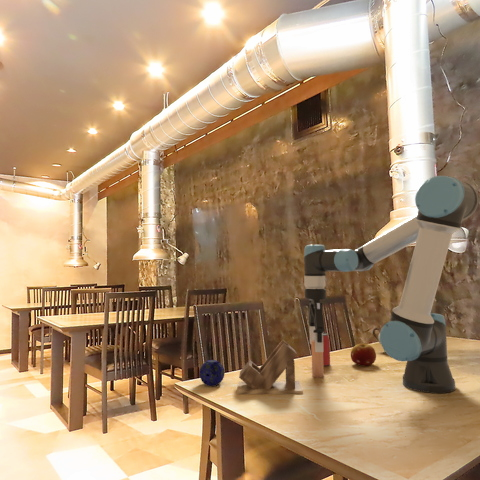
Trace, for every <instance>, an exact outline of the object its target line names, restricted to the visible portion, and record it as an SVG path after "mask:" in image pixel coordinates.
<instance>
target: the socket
mask: <svg viewBox="0 0 480 480" xmlns="http://www.w3.org/2000/svg"><path fill="white" fill-rule="evenodd" d="M297 355H298V353H297V350H295V349H294V348H293V347H292V346H291V345H290V344H288V343H287V342H286V341H285V340H284V339H281V341H280V342H279V343H278V344H277V346H276V347H274V349H273V351H272V352H271V353H270V354H269V356H268V357H267V358H266V360H265V361H264V362H263V364H262V365H261V366H260V367H259V366H258V365H257V364H255V363H254V362H253V361H252V360H251V359H249V360H248V361H247V362H246V363H245V365H244V366H243V367H242V369H241V370H240V371H239V376H238V377H239V379H240V380H241V381H238V382H237V383H238V384H237V390H236V394H237V395H275V394H276V395H281V394H282V395H285V394H286V395H293V394H295V395H297V394H298V395H299V394H300V395H303V394H304V390H303V387H302V385H301V383H300V381H299V380H296V371H295V366H296V365H295V357H297ZM283 372H285V381H284V380H282V381H281V380H278V378H279V377H280V376H281V375H282V374H283ZM277 380H278V381H277Z"/></svg>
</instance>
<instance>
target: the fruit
mask: <svg viewBox="0 0 480 480" xmlns="http://www.w3.org/2000/svg"><path fill="white" fill-rule="evenodd" d="M350 358H351V361H352V362H353V363H354V364H356V365H358V366H361V367H369V366H372V365H374V363H375V362H376V360H377V359H376V358H377V353H376V350H375V348H374V347H373V346H372V345H370V344H368V343H358V344H355V345H354V346H353V347H352V348H351V351H350Z"/></svg>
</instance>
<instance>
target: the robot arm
mask: <svg viewBox="0 0 480 480" xmlns="http://www.w3.org/2000/svg"><path fill="white" fill-rule="evenodd" d="M479 200H480V199H479V195H478V192H477V190H476V189H475V188H474V187H473V186H472V185H471V184H469V183H467V182H464V181H463V180H462V181H461V180H459V179H458V178H456V177H453V176H447V175H435V176H432V177H430V178H428V179H426V180H425V181H424V182H422V183H421V185H420V186H419V187H418V189H417V191H416V193H415V197H414V202H415V207H417V210H418V211H417V213H416V214H415V215H413V216H411V217H410V218H408V219H406V220H404V221H402V222H401V223H399V224H397V225H395V226H394V227H393V228H391V229H389V230H387V231H385V232H383V234H381V235H378V236H377V237H376V238H374V239H371V240H370V241H368V242H367V243H365V244H364V245H362V246H360V247H357V249H356V248H355V249H352V248H351V249H349V248H341V249H326V246H325V244H307V245H305V247H304V251H303V263H304V265H303V266H304V275H303V276H304V279H303V282H304V283H303V284H304V287H305V288H304V298H305V299H306V300H308V301H309V302H308V303H309V310H308V311H309V313H308V324H309V345H311V341H315V352H324V351H323V333H325V325H324V315H323V303H322V302H321V300H325V299H327V289H326V288H325V287H327V284H326V282H328V278H327V277H326V276H327V275H326V274H327V273H326V272H342V273H347V272H365V271H369V270H371V269H372V268H373V266H374V265H375V264H377V263H378V262H380V261H382V260H384V259H386V258H388V257H390V256H392V255H393V254H395V253H397V252H399V251H402V250H403V249H404V248H406V247H409V246H410V245H412V244H414V243H415V245H414V248H413V252H412V256H411V260H410V263H409V267H408V271H407V275H406V279H405V282H404V287H403V290H402V294H401V298H400V302H399V305H397V306H396V307H393V308H392V310H391V314H390V317H389V318H390V319H389V320H388V322H386V323H385V324H384V325H383V326H382V327H381V328H380V329H381V331H380V332H379V333H380V342H381V344H380V345H381V347H382V349H383V350H384V352H385V353H386V354H387V355H388V357H390V358H392V359H394V360H396V361H398V362H406V364H405V368H404V374H402V385H403V386H404V387H406V388H408V389H411V390H413V391H418V392H424V393H434V394H435V393H436V394H440V393H442V394H443V393H444V392H445V393H451V392H454V391H456V380H455V378H453V375H452V371H451V369H450V366H449V365H450V364H449V363H448V345H447V324H446V319H445V316H444V315H443V314H440V313H432V309H433V305H434V301H435V298H436V294H437V291H438V287H439V283H440V280H441V276H442V273H443V270H444V267H445V263H446V259H447V255H448V252H449V247H450V244H451V240H452V237H453V235H454V233H456V232H458V231H459V230H461V228H462V223H463V221H465V220H467V219H468V218H470V217H471V216H472V215H473V214H474V213H475V211H477V209H478V206H479ZM453 390H454V391H453ZM450 391H451V392H450Z"/></svg>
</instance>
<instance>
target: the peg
mask: <svg viewBox="0 0 480 480" xmlns="http://www.w3.org/2000/svg"><path fill="white" fill-rule="evenodd" d="M310 346H311V372H312V377H313V378H316V379H317V378H318V379H319V378H320V379H321V378H324V377H325V374H324V372H325V371H324V368H325V366H324V365H323V352H315V341H311V344H310Z"/></svg>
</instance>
